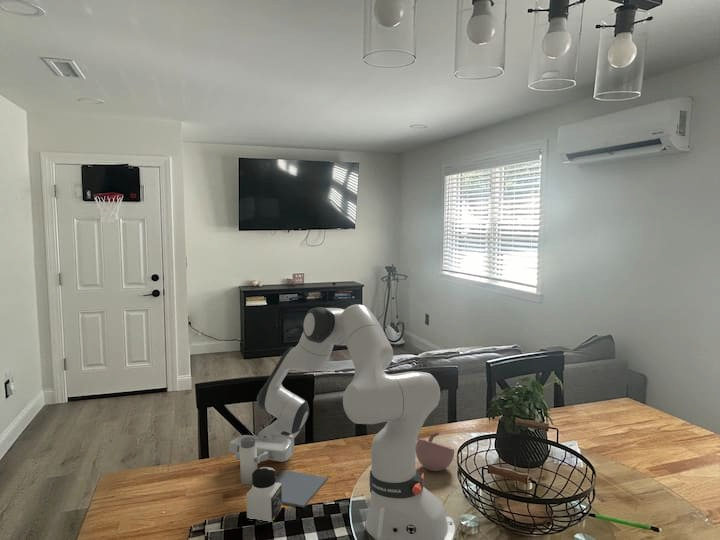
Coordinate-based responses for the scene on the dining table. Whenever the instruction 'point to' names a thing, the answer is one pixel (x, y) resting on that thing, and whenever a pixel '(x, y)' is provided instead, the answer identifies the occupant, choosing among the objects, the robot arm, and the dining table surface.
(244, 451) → the white pill bottle
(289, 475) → the slate mat
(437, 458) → the mortar and pestle
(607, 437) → the dining table surface
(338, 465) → the dining table surface
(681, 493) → the dining table surface
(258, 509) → the medicine bottle
